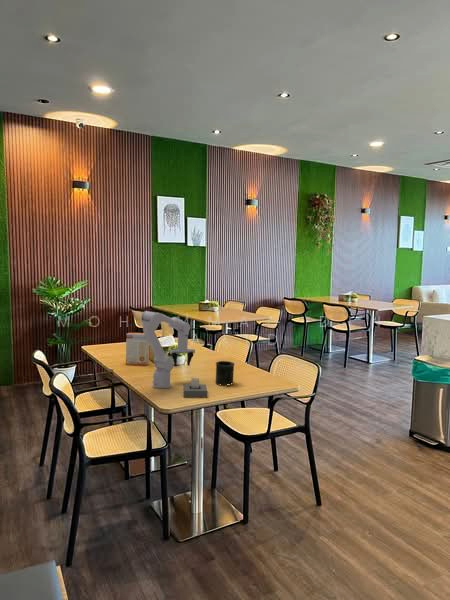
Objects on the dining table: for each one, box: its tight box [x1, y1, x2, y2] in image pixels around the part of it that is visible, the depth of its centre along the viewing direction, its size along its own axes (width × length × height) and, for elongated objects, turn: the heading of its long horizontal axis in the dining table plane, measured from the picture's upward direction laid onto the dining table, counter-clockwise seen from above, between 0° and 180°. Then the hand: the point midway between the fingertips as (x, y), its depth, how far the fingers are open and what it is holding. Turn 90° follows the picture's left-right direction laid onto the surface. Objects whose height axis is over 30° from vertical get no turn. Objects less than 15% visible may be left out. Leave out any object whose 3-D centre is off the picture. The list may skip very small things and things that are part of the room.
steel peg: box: [190, 377, 200, 389], centre depth 238 cm, size 4×4×8 cm
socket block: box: [183, 383, 208, 398], centre depth 238 cm, size 12×12×4 cm
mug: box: [215, 360, 235, 386], centre depth 261 cm, size 11×15×12 cm
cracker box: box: [125, 332, 150, 367], centre depth 297 cm, size 14×6×21 cm, turn 84°
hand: (181, 365), depth 260 cm, fingers open, 7 cm apart
